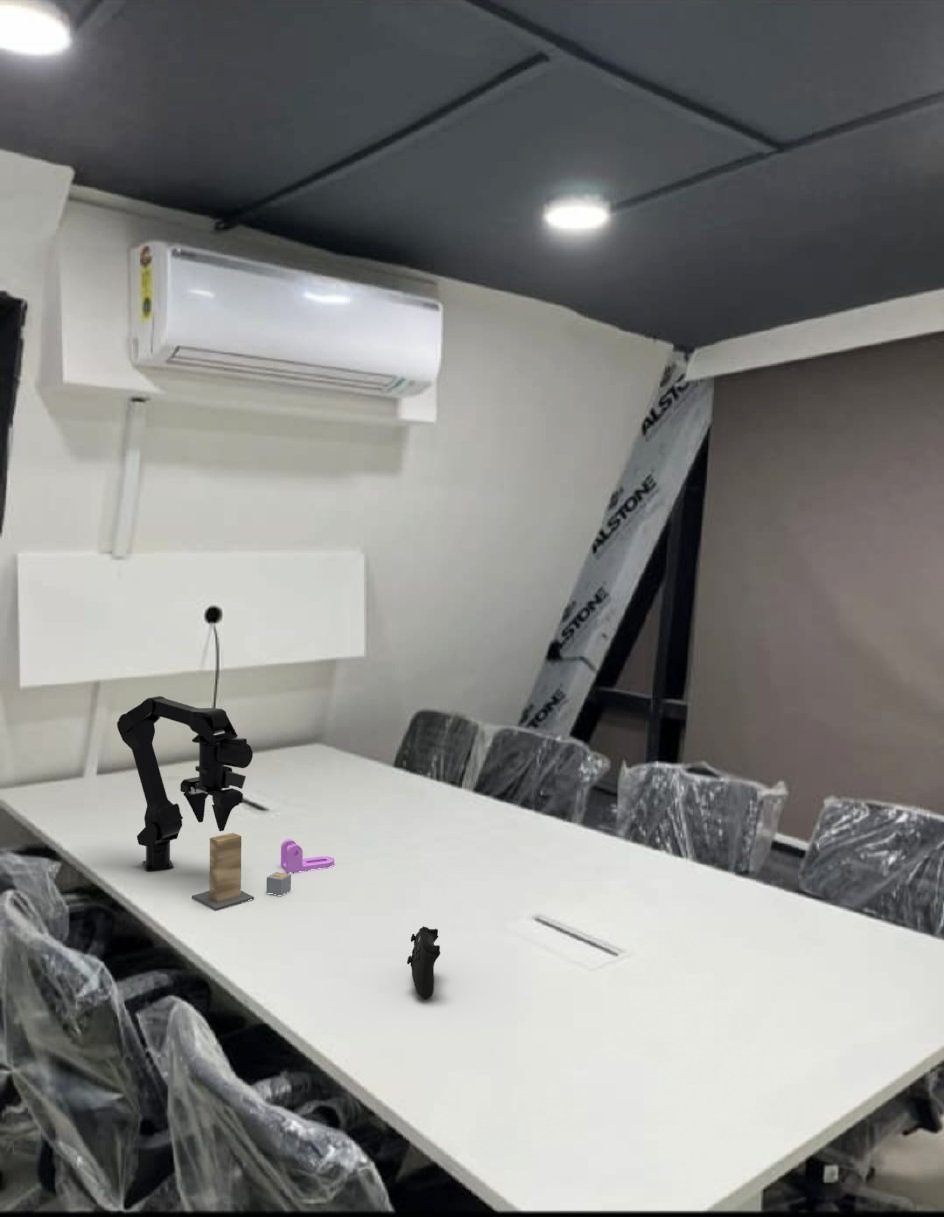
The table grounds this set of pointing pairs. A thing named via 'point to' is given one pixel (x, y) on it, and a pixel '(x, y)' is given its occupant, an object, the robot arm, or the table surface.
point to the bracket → (300, 858)
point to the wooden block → (225, 867)
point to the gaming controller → (424, 960)
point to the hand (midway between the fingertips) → (211, 826)
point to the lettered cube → (279, 883)
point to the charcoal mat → (216, 906)
